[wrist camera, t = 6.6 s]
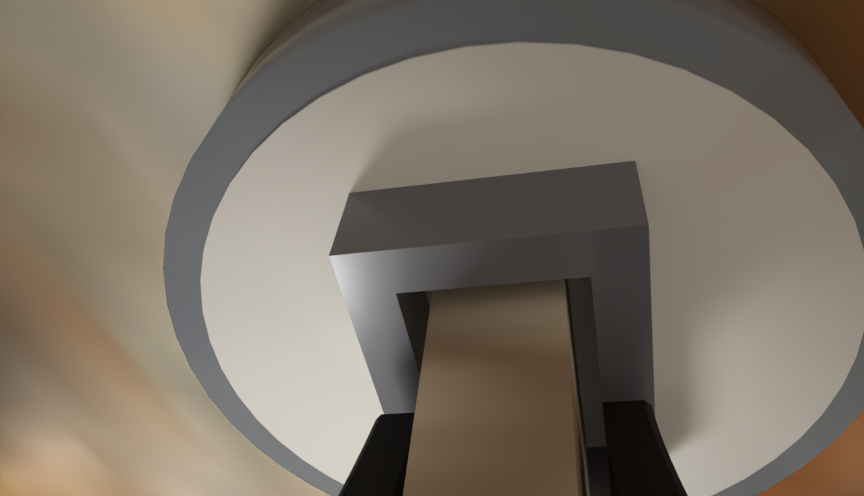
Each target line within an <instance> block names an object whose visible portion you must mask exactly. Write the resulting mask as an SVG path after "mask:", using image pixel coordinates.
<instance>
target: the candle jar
mask: <svg viewBox="0 0 864 496" xmlns="http://www.w3.org/2000/svg"><path fill="white" fill-rule="evenodd" d="M163 271H164V280H165V289H166V298H167V305H168V308H169V312H170V315H171V319H172V323H173V326H174V330H175V333H176V337H177V339H178V341H179V343H180V345H181V348H182V350H183V352H184V354H185V356H186V359H187V361H188V363H189V365H190V367H191V369H192V371H193V372H194V374H195V375H196V377H197V378H198V380H199V382H200V383H201V385H202V386H203V388H204V389H205V391H206V393H207V394H208V396H209V397H210V398H211V399H212V401H213V402H214V403H215V404H216V405H217V407H218V408H219V409H220V410H221V411H222V413H223V414H224V415H225V416H226V417H227V419H228V420H229V421H230V422H231V423H232V424H233V425H234V426H235V427H236V428H237V429H238V430H239V431H240V432H241V433H242V434H243V435H244V436H245V437H246V438H247V439H248V440H250V441H251V442H252V443H253V444H254V445H255V446H256V447H257V448H259V449H260V450H261V451H262V452H264V453H265V454H266V455H268V456H269V457H270V458H271V459H273V460H274V461H275V462H277V463H278V464H279V465H281V466H282V467H283V468H285V469H286V470H288V471H290V472H291V473H293V474H294V475H296V476H298V477H299V478H301V479H302V480H304V481H305V482H307V483H309V484H310V485H312V486H314V487H316V488H318V489H320V490H322V491H324V492H326V493H327V494H329V495H331V496H338V495H339V493H340V491H341V489H342V487H343V486H344V484H345V482H346V480H347V478H348V476H349V474H350V472H351V470H352V468H353V466H354V464H355V462H356V460H357V458H358V456H359V454H360V452H361V450H362V448H363V446H364V444H365V442H366V440H367V438H368V436H369V433H370V431H371V429H372V427H373V425H374V422H375V420H376V419H377V418H378V417H379V416H380V415H381V414H395V413H414V412H415V408H416V401H417V394H418V387H419V380H420V373H421V366H422V360H423V353H424V346H425V339H426V332H427V325H428V318H429V311H430V305H431V298H432V291H433V290H442V289H454V288H466V287H477V286H489V285H501V284H512V283H524V282H536V281H548V280H559V279H567V282H568V290H569V299H570V307H571V316H572V325H573V333H574V342H575V350H576V359H577V368H578V376H579V385H580V393H581V402H582V410H583V419H584V428H585V437H586V450H587V464H588V477H589V491H590V496H611V489H610V478H609V468H608V457H607V446H606V435H605V424H604V414H603V403H602V402H617V401H636V400H645V401H646V402H648V403H649V404H651V405H652V408H653V412H654V416H655V419H656V422H657V425H658V428H659V431H660V434H661V436H662V439H663V441H664V444H665V446H666V449H667V451H668V454H669V456H670V458H671V461H672V463H673V465H674V467H675V469H676V472H677V474H678V476H679V478H680V480H681V483H682V485H683V487H684V489H685V491H686V493H687V495H688V496H754V495H756V494H758V493H760V492H762V491H764V490H766V489H768V488H770V487H771V486H773V485H774V484H776V483H778V482H779V481H781V480H782V479H784V478H785V477H787V476H789V475H790V474H792V473H793V472H795V471H797V470H798V469H800V468H801V467H803V466H804V465H805V464H806V463H808V462H809V461H810V460H811V459H813V458H814V457H815V456H816V455H818V454H819V453H820V452H821V451H823V450H824V449H825V448H826V447H828V446H829V445H830V444H831V443H832V442H833V441H834V440H835V439H836V438H837V437H838V436H839V435H840V434H841V433H842V432H843V431H844V430H845V429H846V428H847V427H848V426H849V425H850V424H851V423H852V422H853V421H854V420H855V419H856V418H857V417H858V415H859V414H860V413H861V411H862V410H863V409H864V129H863V127H862V126H861V125H860V123H859V122H858V120H857V119H856V117H855V116H854V115H853V113H852V112H851V110H850V109H849V107H848V106H847V104H846V103H845V102H844V100H843V99H842V97H841V96H840V94H839V93H838V92H837V90H836V89H835V87H834V86H833V84H832V83H831V81H830V80H829V79H828V77H827V76H826V75H825V73H824V72H823V71H822V69H821V68H820V67H819V65H818V64H817V63H816V61H815V60H814V58H813V57H812V56H811V54H810V53H809V52H808V50H807V49H806V48H805V46H804V45H803V44H802V43H801V42H800V41H799V40H798V39H797V38H796V37H795V36H793V35H792V34H791V33H790V32H789V31H788V30H787V29H786V28H785V27H784V26H783V25H782V24H781V23H780V22H779V21H778V20H777V19H776V18H775V17H774V16H773V15H772V14H771V13H769V12H768V11H766V10H765V9H763V8H762V7H761V6H759V5H758V4H756V3H755V2H753V1H752V0H320V1H318V2H317V3H316V4H314V5H313V6H312V7H311V8H309V9H308V10H307V11H305V12H304V13H303V14H302V15H300V16H299V17H298V18H297V19H295V20H294V21H293V22H291V23H290V24H289V25H288V26H287V27H286V28H285V29H284V30H283V31H282V32H281V33H280V34H279V35H278V36H277V38H276V39H275V40H274V41H273V42H272V43H271V44H270V45H269V46H268V47H267V48H266V49H265V50H264V51H263V52H262V54H261V55H260V56H259V57H258V58H257V60H256V61H255V63H254V64H253V66H252V67H251V69H250V70H249V72H248V73H247V75H246V76H245V78H244V79H243V80H242V82H241V83H240V85H239V86H238V88H237V89H236V91H235V92H234V94H233V95H232V97H231V99H230V100H229V102H228V103H227V105H226V106H225V108H224V109H223V111H222V112H221V114H220V115H219V117H218V118H217V120H216V122H215V123H214V125H213V126H212V128H211V129H210V131H209V132H208V134H207V135H206V137H205V138H204V140H203V141H202V143H201V145H200V146H199V148H198V149H197V151H196V152H195V154H194V155H193V157H192V158H191V160H190V163H189V165H188V167H187V169H186V171H185V174H184V176H183V178H182V180H181V183H180V185H179V187H178V189H177V192H176V194H175V196H174V200H173V204H172V208H171V213H170V217H169V221H168V225H167V229H166V233H165V249H164V265H163Z"/></svg>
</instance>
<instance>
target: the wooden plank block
mask: <svg viewBox="0 0 864 496" xmlns="http://www.w3.org/2000/svg"><path fill="white" fill-rule="evenodd" d="M403 496H590V491H589V477H588V464H587V450H586V437H585V428H584V419H583V410H582V402H581V393H580V385H579V376H578V368H577V359H576V350H575V342H574V333H573V325H572V316H571V307H570V299H569V290H568V282H567V279H559V280H548V281H536V282H524V283H512V284H501V285H489V286H477V287H466V288H454V289H442V290H433V291H432V298H431V305H430V311H429V318H428V325H427V332H426V339H425V346H424V353H423V360H422V366H421V373H420V380H419V387H418V394H417V401H416V408H415V415H414V421H413V428H412V435H411V442H410V449H409V456H408V463H407V470H406V477H405V483H404V490H403Z"/></svg>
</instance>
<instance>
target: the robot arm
mask: <svg viewBox="0 0 864 496" xmlns="http://www.w3.org/2000/svg"><path fill="white" fill-rule="evenodd" d="M602 403H603V414H604V424H605V435H606V446H607V457H608V468H609V478H610V489H611V496H688V495H687V493H686V491H685V489H684V487H683V485H682V483H681V480H680V478H679V476H678V474H677V472H676V469H675V467H674V465H673V463H672V461H671V458H670V456H669V454H668V451H667V449H666V446H665V444H664V441H663V439H662V436H661V434H660V431H659V428H658V425H657V422H656V419H655V416H654V412H653V408H652V405H651V404H649V403H648V402H646V401H645V400H636V401H617V402H602ZM414 415H415V412H414V413H395V414H381V415H380V416H379V417H378V418H377V419H376V420H375V422H374V425H373V427H372V429H371V431H370V433H369V436H368V438H367V440H366V442H365V444H364V446H363V448H362V450H361V452H360V454H359V456H358V458H357V460H356V462H355V464H354V466H353V468H352V470H351V472H350V474H349V476H348V478H347V480H346V482H345V484H344V486H343V487H342V489H341V491H340V493H339V495H338V496H403V490H404V483H405V477H406V470H407V463H408V456H409V449H410V442H411V435H412V428H413V421H414Z"/></svg>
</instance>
